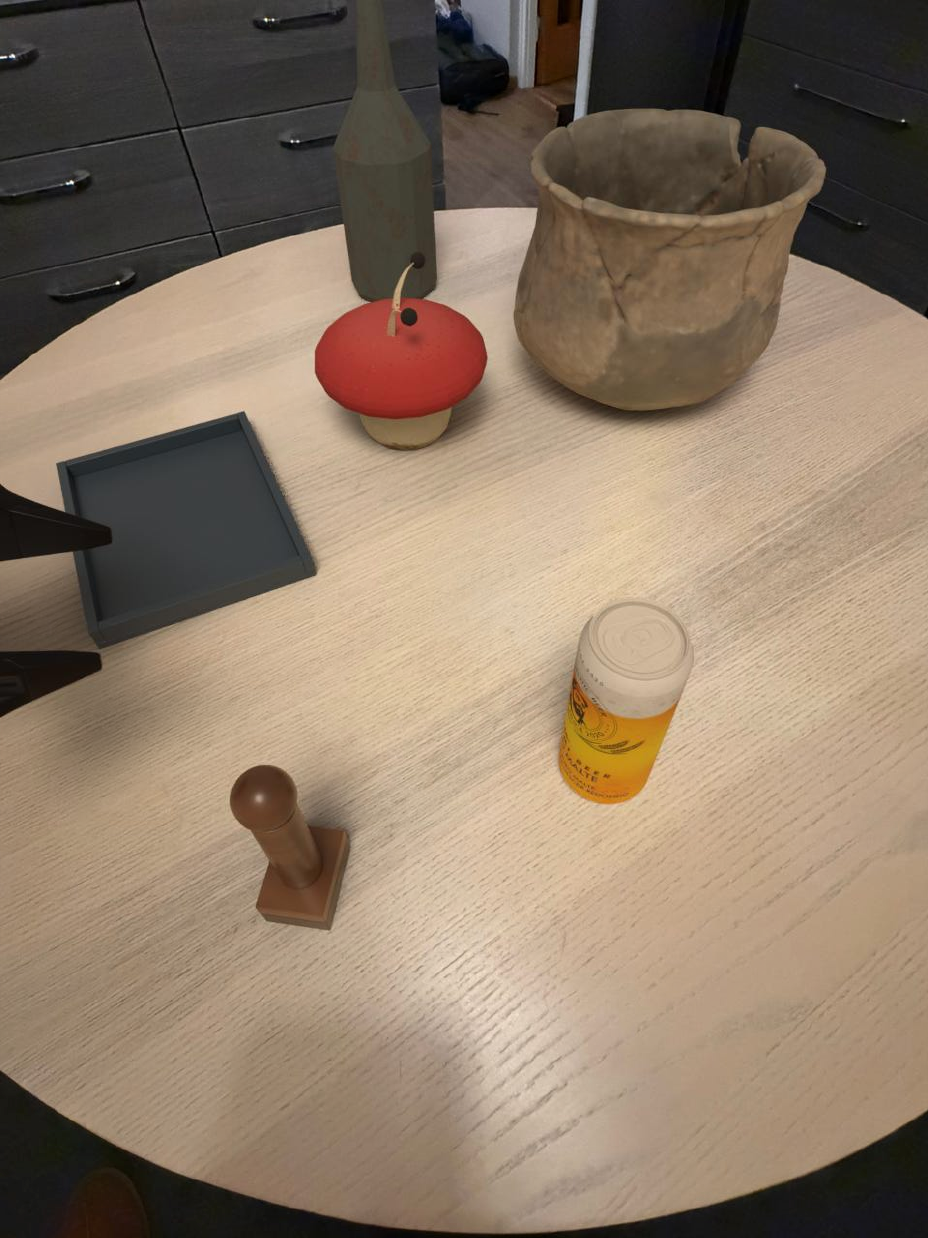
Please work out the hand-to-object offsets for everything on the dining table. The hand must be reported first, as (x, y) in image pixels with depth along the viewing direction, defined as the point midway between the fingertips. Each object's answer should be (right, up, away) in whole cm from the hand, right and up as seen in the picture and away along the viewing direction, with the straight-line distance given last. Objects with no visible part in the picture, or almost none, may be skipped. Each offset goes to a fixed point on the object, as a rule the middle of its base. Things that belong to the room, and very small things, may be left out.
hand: (107, 594), depth 41 cm
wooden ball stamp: (+10, -18, +5) cm, 21 cm away
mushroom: (+14, +17, +33) cm, 40 cm away
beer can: (+29, -12, +10) cm, 33 cm away
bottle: (+11, +39, +50) cm, 64 cm away
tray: (-5, +7, +25) cm, 26 cm away
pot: (+37, +24, +37) cm, 58 cm away
